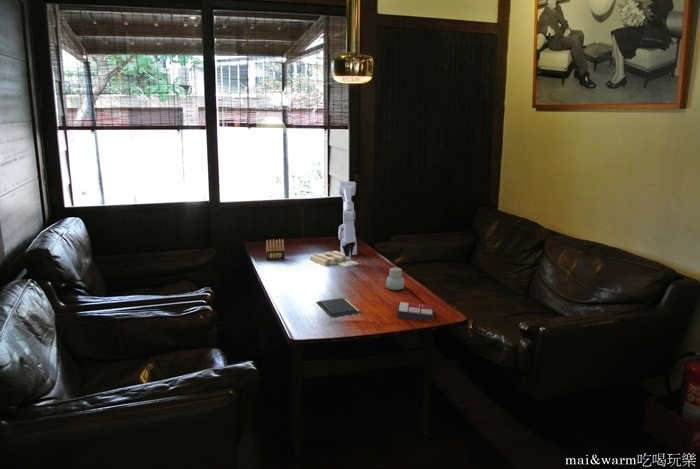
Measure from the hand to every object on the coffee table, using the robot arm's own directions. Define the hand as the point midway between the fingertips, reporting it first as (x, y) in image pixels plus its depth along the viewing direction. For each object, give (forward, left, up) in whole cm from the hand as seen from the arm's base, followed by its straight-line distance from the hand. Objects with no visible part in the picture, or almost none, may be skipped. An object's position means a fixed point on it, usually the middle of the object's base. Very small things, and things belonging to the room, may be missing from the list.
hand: (348, 255), depth 301 cm
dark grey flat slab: (+45, +50, -6) cm, 68 cm away
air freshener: (+7, +46, -5) cm, 47 cm away
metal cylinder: (0, 0, -2) cm, 3 cm away
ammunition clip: (+28, -33, -5) cm, 44 cm away
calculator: (+24, +77, -6) cm, 81 cm away
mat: (0, 0, -5) cm, 5 cm away
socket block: (+4, -12, -5) cm, 14 cm away
